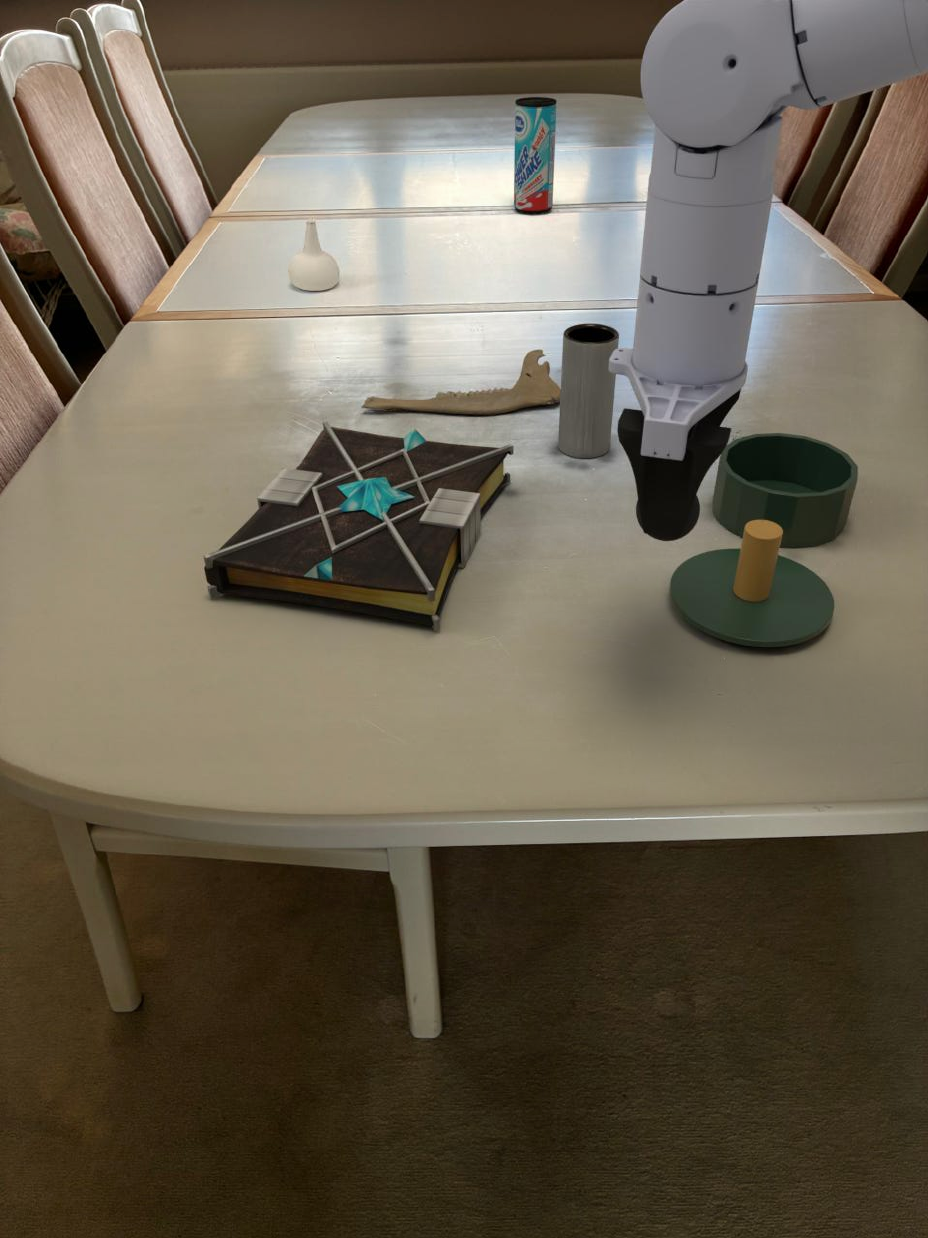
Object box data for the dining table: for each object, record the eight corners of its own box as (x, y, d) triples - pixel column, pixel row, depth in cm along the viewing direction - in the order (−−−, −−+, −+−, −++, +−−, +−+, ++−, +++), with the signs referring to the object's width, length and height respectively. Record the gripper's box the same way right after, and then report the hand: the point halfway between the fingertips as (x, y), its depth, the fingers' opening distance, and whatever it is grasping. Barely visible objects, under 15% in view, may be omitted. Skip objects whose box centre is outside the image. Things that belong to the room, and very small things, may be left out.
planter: (618, 454, 83) (628, 338, 77) (570, 462, 82) (576, 346, 76) (596, 432, 87) (605, 319, 80) (550, 439, 86) (554, 326, 79)
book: (325, 458, 83) (319, 404, 80) (514, 481, 80) (515, 426, 77) (207, 600, 67) (194, 540, 64) (437, 638, 63) (435, 576, 60)
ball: (699, 525, 57) (707, 471, 55) (691, 557, 54) (699, 502, 52) (639, 516, 58) (644, 463, 56) (628, 547, 55) (633, 492, 53)
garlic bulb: (313, 274, 124) (306, 208, 119) (350, 282, 121) (345, 216, 116) (279, 288, 120) (271, 220, 115) (317, 296, 117) (310, 228, 112)
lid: (833, 575, 68) (853, 500, 64) (828, 668, 60) (850, 589, 56) (680, 550, 71) (691, 477, 67) (656, 636, 63) (666, 559, 59)
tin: (845, 491, 77) (858, 442, 75) (843, 557, 70) (857, 505, 67) (720, 474, 80) (728, 426, 77) (704, 535, 73) (712, 484, 70)
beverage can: (506, 208, 148) (507, 99, 138) (539, 203, 150) (542, 95, 141) (526, 217, 143) (529, 105, 134) (559, 212, 146) (564, 101, 136)
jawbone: (590, 402, 93) (592, 383, 91) (401, 456, 85) (400, 436, 84) (539, 363, 99) (541, 345, 97) (358, 411, 91) (357, 391, 90)
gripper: (643, 229, 53) (622, 449, 62) (586, 319, 43) (570, 571, 51) (773, 239, 52) (734, 464, 60) (749, 335, 41) (705, 594, 49)
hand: (667, 514), depth 55 cm, fingers closed on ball, 3 cm apart
